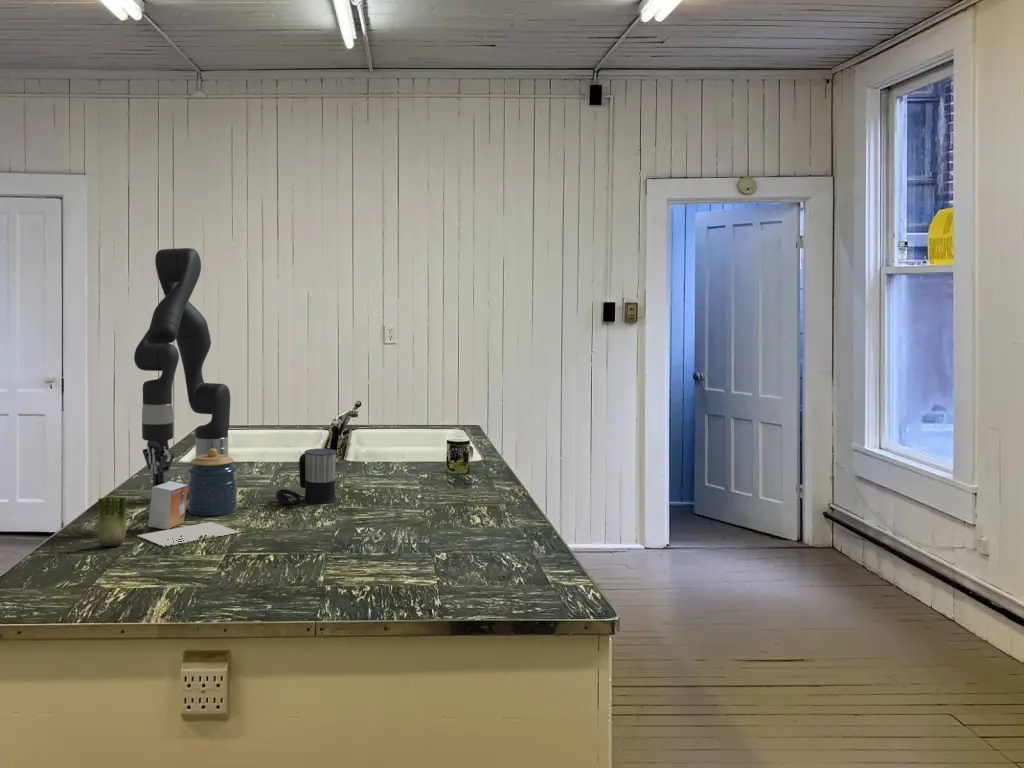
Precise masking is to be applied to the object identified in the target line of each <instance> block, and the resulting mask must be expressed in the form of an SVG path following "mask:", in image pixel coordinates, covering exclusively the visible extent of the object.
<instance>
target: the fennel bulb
mask: <svg viewBox="0 0 1024 768" xmlns="http://www.w3.org/2000/svg"><path fill="white" fill-rule="evenodd" d="M97 501H98V509H99V510H98V513H99V514H98V515H99V517H98V521H97V522H98V523H97V530H96V531H97V533H96V535H97V536H96V537H97V541H98V543H99V545H100V546H103V547H106V548H108V547H109V548H111V547H118V546H121V545H122V544H123V543H124V542H125V539H126V534H127V518H126V496H120V497H119V503H118V496H117V495H116V496H105V497H100V498H99V497H98V499H97Z"/></svg>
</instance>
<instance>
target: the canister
mask: <svg viewBox="0 0 1024 768" xmlns="http://www.w3.org/2000/svg"><path fill="white" fill-rule="evenodd" d="M233 463H234V459H233V458H232V457H230V456H229V454H228V455H224V454H217V450H216V449H215V448H210V449H209V450H208V452H207V454H206V455H200V456H197V457H196V456H195V458H192V460H190V464H192V465H191V467H189V468H188V469H187V473H189V479H188V481H187V485H188V491H187V494H188V503H187V508H188V513H189V514H191V515H194V516H198V515H199V517H200V516H202V517H217V516H224V515H228V514H229V515H230V514H232V513H235V512H236V511H237V507H238V500H237V492H238V491H237V489H238V488H237V483H238V479H237V478H236V471H237V470H238V468H237V466H235V465H234V464H233Z"/></svg>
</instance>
